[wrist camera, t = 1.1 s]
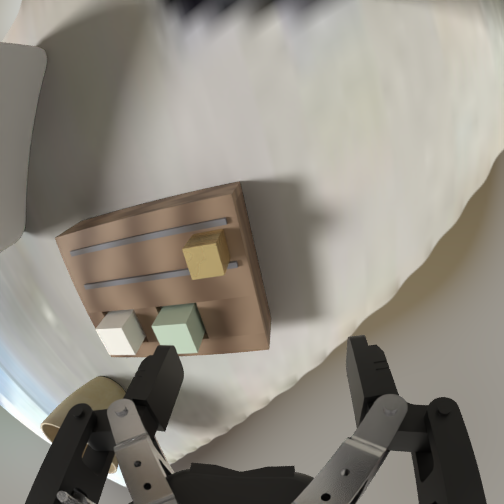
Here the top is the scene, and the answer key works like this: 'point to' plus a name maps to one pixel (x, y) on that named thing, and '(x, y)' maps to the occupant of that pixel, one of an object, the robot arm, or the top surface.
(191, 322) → the sage green button
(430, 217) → the top surface
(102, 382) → the plant pot
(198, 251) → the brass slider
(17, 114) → the rounded white slab
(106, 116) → the top surface
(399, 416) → the robot arm
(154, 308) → the switch panel
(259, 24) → the top surface
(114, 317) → the off-white button
